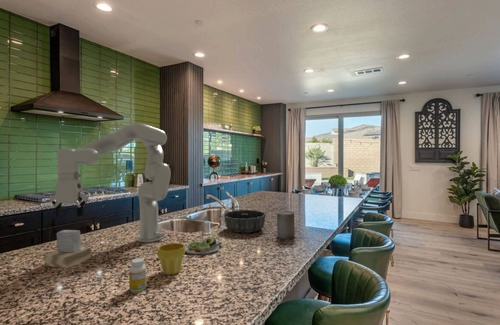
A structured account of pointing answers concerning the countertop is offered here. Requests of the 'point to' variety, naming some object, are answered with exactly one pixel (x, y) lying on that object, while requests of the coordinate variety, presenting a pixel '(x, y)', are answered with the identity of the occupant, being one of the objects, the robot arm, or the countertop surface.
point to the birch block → (67, 258)
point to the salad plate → (203, 246)
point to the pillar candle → (285, 224)
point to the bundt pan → (244, 220)
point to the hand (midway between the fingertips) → (69, 216)
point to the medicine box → (68, 241)
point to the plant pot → (171, 257)
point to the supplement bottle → (137, 275)
